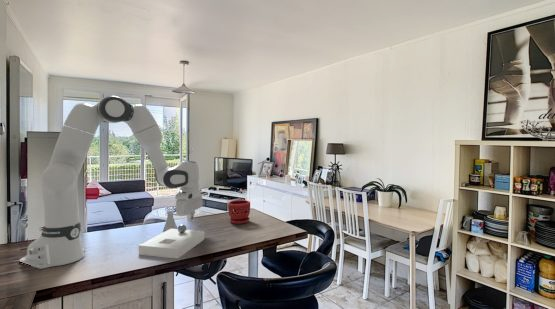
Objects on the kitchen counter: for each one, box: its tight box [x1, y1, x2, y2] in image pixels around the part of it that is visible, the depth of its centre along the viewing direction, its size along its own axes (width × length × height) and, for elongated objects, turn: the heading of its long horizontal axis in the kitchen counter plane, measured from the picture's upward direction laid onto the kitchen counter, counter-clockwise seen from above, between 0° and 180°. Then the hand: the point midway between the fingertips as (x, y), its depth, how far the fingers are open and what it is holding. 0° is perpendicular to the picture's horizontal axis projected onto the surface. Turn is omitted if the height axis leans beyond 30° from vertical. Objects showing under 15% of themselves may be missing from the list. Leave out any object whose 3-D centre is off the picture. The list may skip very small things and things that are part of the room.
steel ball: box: [177, 224, 187, 233], centre depth 140 cm, size 4×4×4 cm
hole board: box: [138, 229, 205, 259], centre depth 133 cm, size 18×24×4 cm
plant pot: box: [227, 199, 251, 225], centre depth 174 cm, size 13×13×12 cm
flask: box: [162, 210, 178, 232], centre depth 157 cm, size 7×7×10 cm
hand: (190, 220), depth 147 cm, fingers closed
